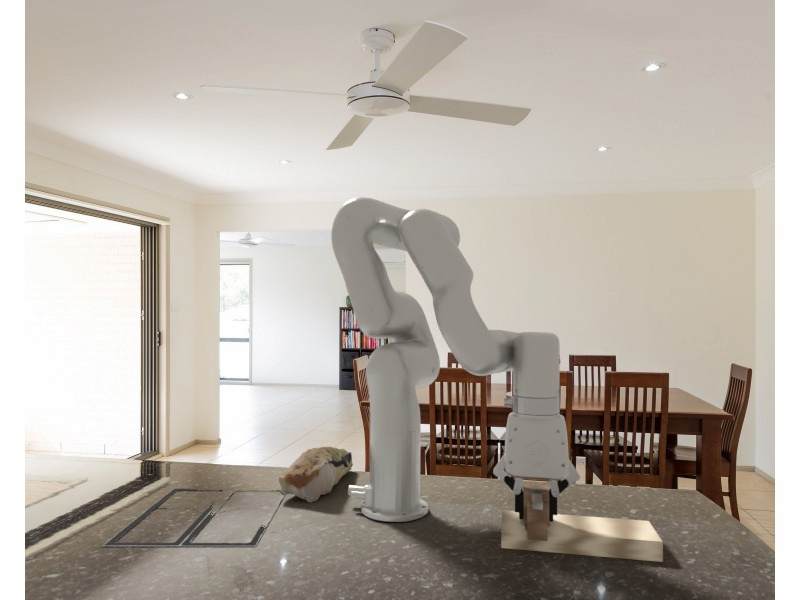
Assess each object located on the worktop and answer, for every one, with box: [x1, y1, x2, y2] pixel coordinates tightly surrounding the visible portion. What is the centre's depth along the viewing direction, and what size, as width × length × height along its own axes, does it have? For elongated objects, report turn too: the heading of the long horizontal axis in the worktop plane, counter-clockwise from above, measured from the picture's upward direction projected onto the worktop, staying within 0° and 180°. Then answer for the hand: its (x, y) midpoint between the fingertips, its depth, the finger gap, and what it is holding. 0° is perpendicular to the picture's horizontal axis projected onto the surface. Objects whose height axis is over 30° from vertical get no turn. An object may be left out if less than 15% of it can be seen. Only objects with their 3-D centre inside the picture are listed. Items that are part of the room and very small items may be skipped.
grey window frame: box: [101, 487, 267, 548], centre depth 105 cm, size 24×1×30 cm
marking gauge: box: [522, 483, 549, 541], centre depth 92 cm, size 4×9×6 cm, turn 169°
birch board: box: [500, 509, 664, 563], centre depth 93 cm, size 24×9×3 cm, turn 79°
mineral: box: [278, 446, 354, 503], centre depth 124 cm, size 26×9×10 cm
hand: (535, 516), depth 94 cm, fingers closed on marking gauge, 4 cm apart
